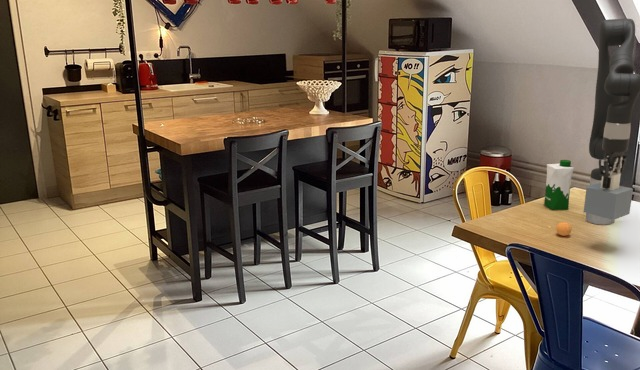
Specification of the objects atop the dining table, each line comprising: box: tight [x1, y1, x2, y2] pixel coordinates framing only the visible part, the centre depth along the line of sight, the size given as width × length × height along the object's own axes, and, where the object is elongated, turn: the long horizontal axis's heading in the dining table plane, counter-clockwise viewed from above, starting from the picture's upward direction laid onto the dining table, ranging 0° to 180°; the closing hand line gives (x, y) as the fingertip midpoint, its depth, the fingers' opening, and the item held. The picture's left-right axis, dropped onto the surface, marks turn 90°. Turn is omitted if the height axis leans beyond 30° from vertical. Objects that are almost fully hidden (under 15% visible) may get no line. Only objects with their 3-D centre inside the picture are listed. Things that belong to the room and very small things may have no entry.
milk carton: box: [543, 159, 575, 211], centre depth 229 cm, size 9×9×20 cm
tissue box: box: [583, 172, 634, 221], centre depth 185 cm, size 10×10×14 cm
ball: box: [555, 221, 572, 237], centre depth 201 cm, size 5×5×5 cm
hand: (609, 186), depth 184 cm, fingers closed on tissue box, 4 cm apart
